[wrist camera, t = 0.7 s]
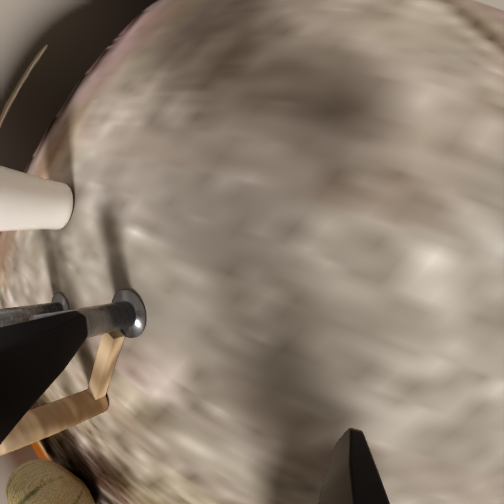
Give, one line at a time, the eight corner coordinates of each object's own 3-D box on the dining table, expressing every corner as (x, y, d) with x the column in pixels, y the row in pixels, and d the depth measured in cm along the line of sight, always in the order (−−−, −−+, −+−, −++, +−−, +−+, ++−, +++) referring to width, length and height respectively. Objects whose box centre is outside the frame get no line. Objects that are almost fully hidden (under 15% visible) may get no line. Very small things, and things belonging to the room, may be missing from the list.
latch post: (73, 325, 30) (-34, 344, 18) (57, 328, 32) (-40, 345, 19) (65, 290, 31) (-42, 299, 18) (50, 296, 32) (-48, 306, 19)
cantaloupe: (89, 458, 31) (7, 499, 17) (129, 530, 30) (65, 575, 16) (43, 439, 36) (-23, 464, 23) (77, 504, 35) (20, 535, 21)
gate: (109, 321, 27) (-91, 357, 9) (131, 341, 26) (-80, 396, 8) (88, 398, 29) (-60, 448, 11) (105, 417, 28) (-45, 478, 10)
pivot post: (151, 334, 26) (57, 362, 16) (119, 339, 27) (32, 363, 18) (139, 285, 26) (41, 296, 17) (108, 294, 28) (18, 305, 18)
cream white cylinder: (86, 195, 29) (-43, 176, 15) (64, 248, 31) (-55, 246, 17) (63, 167, 31) (-46, 146, 17) (44, 216, 33) (-60, 207, 19)
